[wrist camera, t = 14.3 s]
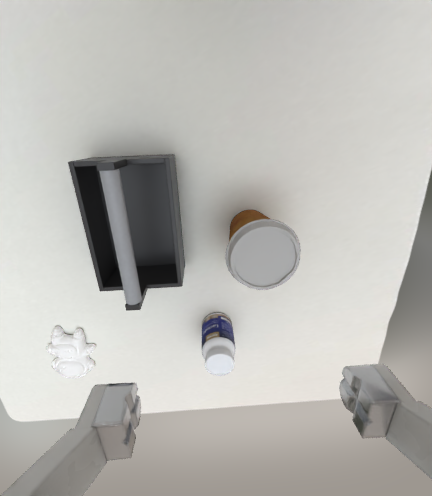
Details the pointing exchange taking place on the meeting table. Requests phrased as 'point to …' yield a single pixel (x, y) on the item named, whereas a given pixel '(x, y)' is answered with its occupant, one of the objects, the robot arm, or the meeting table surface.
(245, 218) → the disposable coffee cup
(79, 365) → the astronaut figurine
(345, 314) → the meeting table surface
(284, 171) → the meeting table surface
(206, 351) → the pill bottle
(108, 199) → the black bin
